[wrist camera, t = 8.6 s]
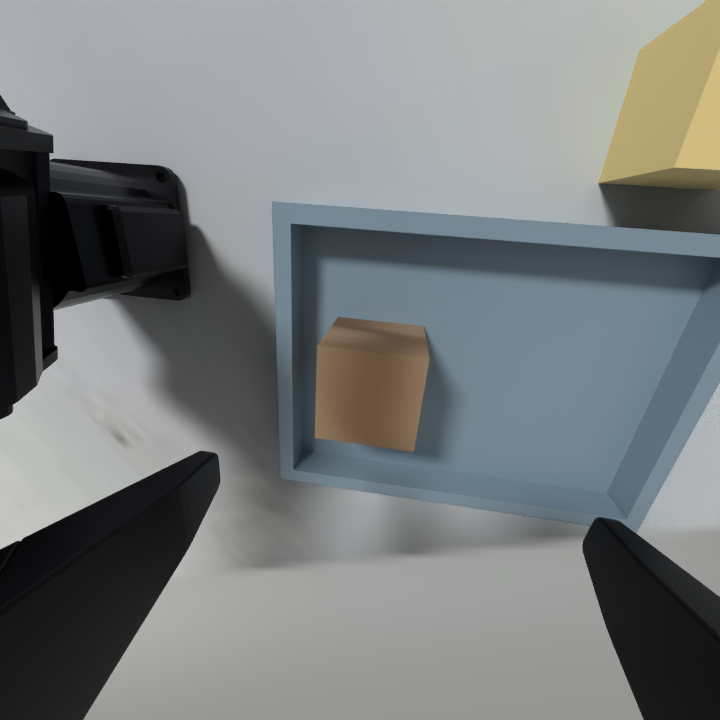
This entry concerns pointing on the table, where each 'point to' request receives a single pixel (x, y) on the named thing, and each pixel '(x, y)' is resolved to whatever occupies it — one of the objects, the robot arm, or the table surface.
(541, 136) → the table surface
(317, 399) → the walnut block
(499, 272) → the slate tray
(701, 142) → the ochre block
